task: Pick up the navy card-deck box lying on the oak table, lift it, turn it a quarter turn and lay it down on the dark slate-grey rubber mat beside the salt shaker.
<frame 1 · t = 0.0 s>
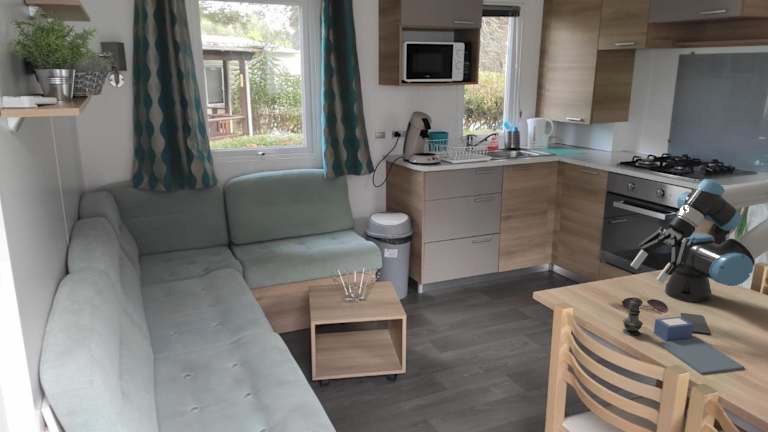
hand: (645, 274, 194), 15 cm above the table, tool tilted 35°, fingers open, 13 cm apart
card deck: (672, 336, 184), on the table
mat: (699, 356, 171), on the table
smartphone: (694, 325, 192), on the table
salt shaker: (631, 332, 186), on the table
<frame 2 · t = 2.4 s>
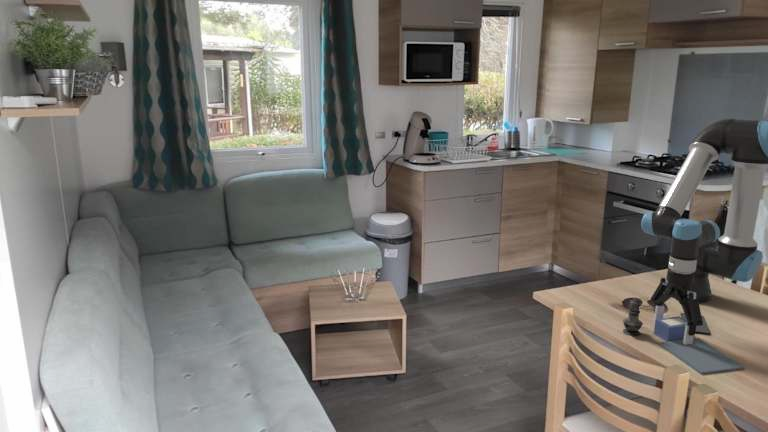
hand: (672, 334, 184), 1 cm above the table, tool pointing down, fingers open, 13 cm apart
nothing on the table moved.
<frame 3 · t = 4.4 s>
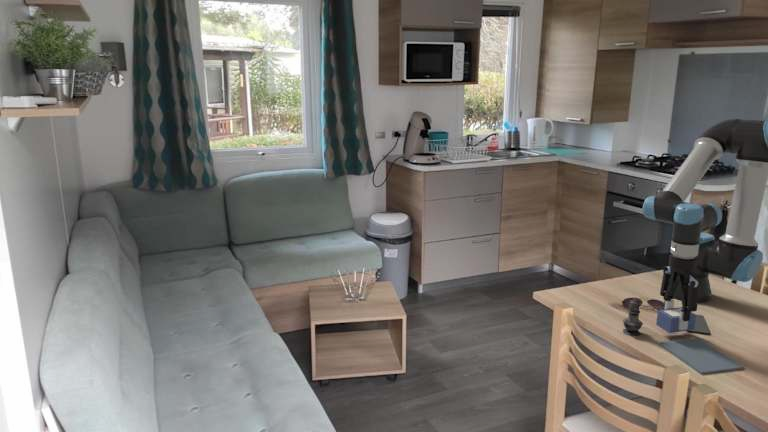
hand: (675, 324, 183), 4 cm above the table, tool pointing down, fingers closed on card deck, 6 cm apart
card deck: (674, 327, 184), point 3 cm above the table, touching gripper
everything else where it was.
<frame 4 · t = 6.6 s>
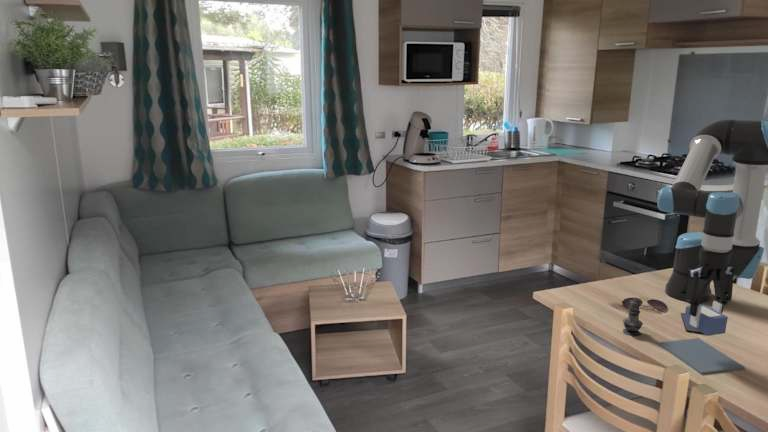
hand: (704, 324, 169), 10 cm above the table, tool pointing down, fingers closed on card deck, 6 cm apart
card deck: (704, 327, 169), point 9 cm above the table, touching gripper
everything else where it was.
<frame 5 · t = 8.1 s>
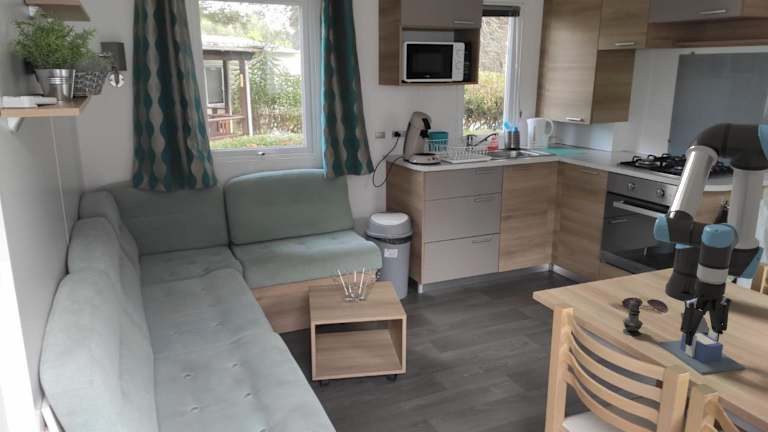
hand: (699, 353, 171), 1 cm above the table, tool pointing down, fingers closed on card deck, 6 cm apart
card deck: (700, 354, 171), point 1 cm above the table, touching gripper, mat
everything else where it was.
when the fingers open (1 cm above the table, at t = 8.6 s): card deck stays where it is, resting on mat.
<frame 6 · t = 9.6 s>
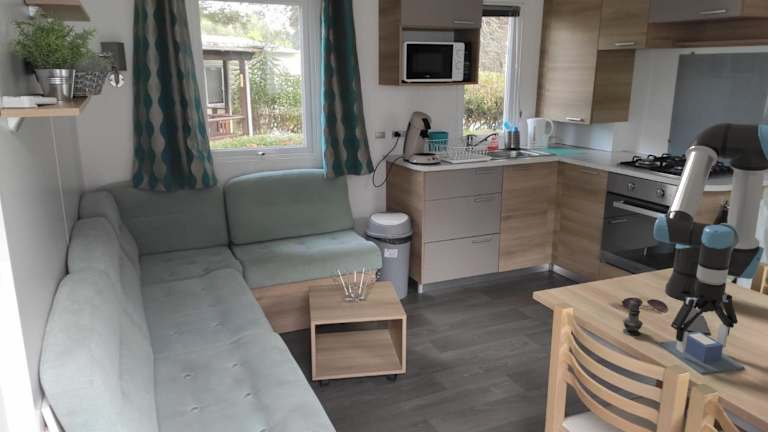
hand: (700, 348, 171), 2 cm above the table, tool pointing down, fingers open, 13 cm apart
card deck: (700, 354, 171), point 1 cm above the table, touching mat
everything else where it was.
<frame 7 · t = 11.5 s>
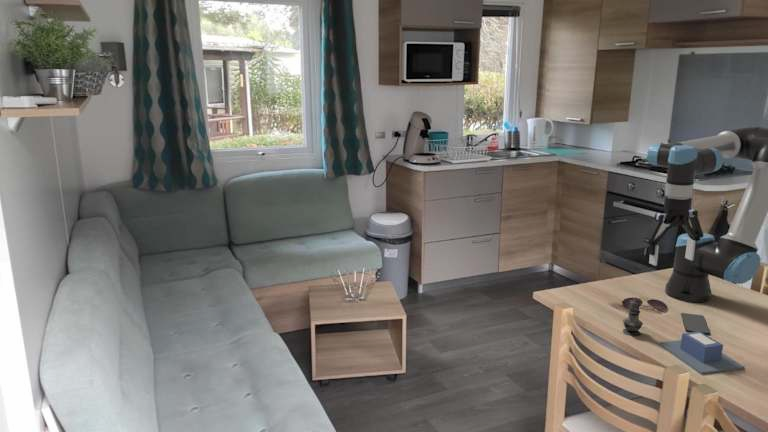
hand: (671, 261, 185), 22 cm above the table, tool pointing down, fingers open, 13 cm apart
nothing on the table moved.
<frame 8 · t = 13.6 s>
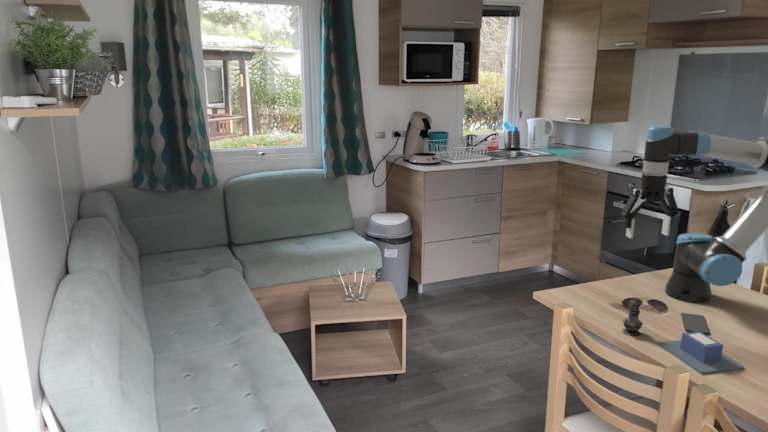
hand: (647, 236, 196), 27 cm above the table, tool pointing down, fingers open, 13 cm apart
nothing on the table moved.
at the end: card deck inside the target area (0.2 cm from its centre), point 0.6 cm above the table; card deck tilted 0°; the gripper is holding nothing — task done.
